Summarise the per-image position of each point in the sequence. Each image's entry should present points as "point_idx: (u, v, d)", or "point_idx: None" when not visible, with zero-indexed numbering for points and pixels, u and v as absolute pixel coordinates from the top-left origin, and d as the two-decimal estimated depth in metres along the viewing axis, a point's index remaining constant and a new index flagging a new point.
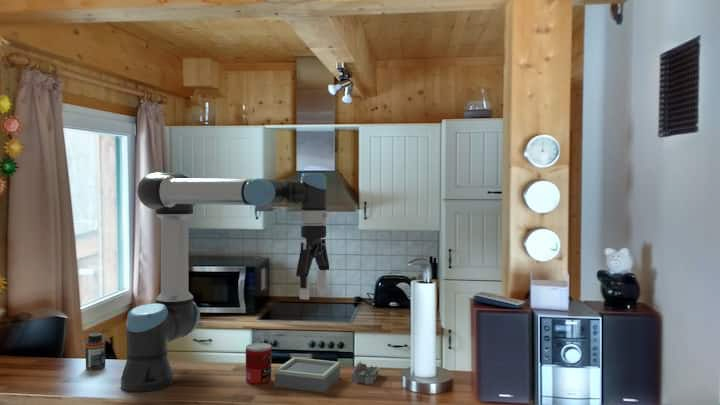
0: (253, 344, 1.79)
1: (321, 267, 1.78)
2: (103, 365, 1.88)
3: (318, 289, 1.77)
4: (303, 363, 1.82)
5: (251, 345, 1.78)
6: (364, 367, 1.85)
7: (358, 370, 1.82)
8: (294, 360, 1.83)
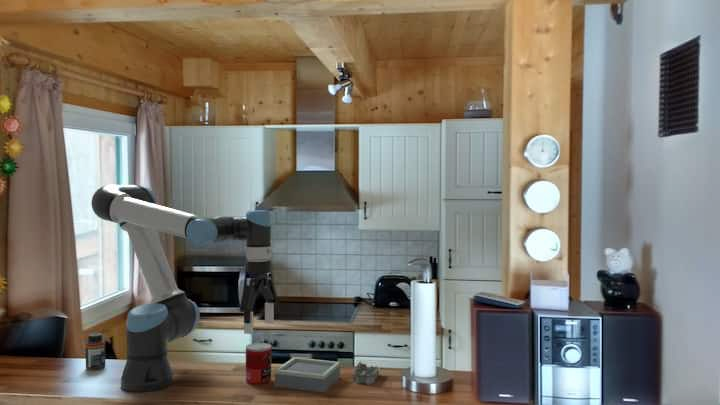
0: (253, 344, 1.79)
1: (269, 300, 1.83)
2: (103, 365, 1.88)
3: (266, 321, 1.83)
4: (303, 363, 1.82)
5: (251, 345, 1.78)
6: (364, 367, 1.85)
7: (358, 370, 1.82)
8: (294, 360, 1.83)
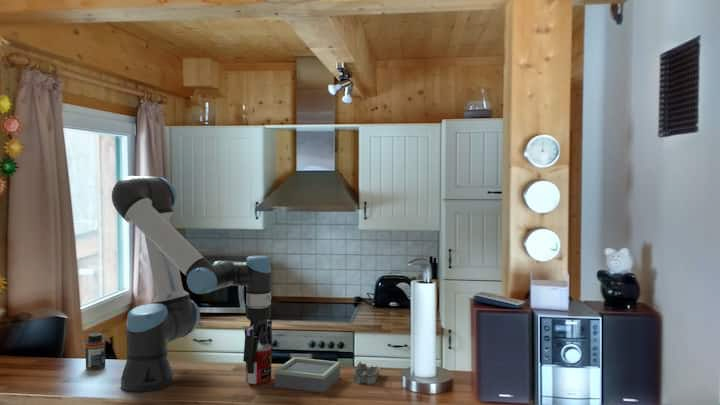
0: None
1: None
2: (103, 365, 1.88)
3: None
4: (303, 363, 1.82)
5: None
6: (364, 367, 1.85)
7: (359, 370, 1.81)
8: (294, 360, 1.83)
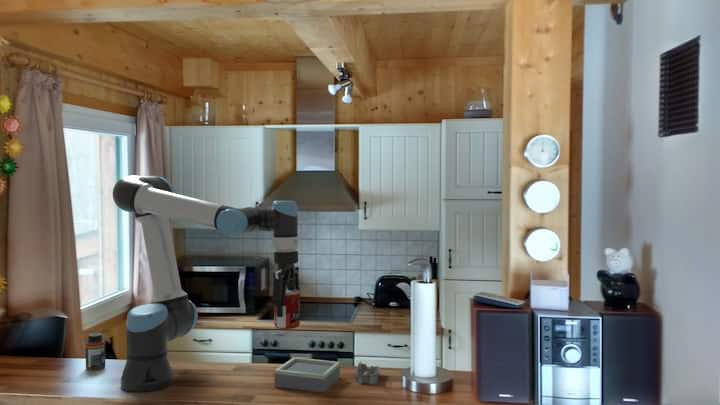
0: None
1: None
2: (103, 365, 1.88)
3: None
4: (303, 363, 1.82)
5: None
6: (364, 367, 1.85)
7: (360, 370, 1.81)
8: (294, 360, 1.83)
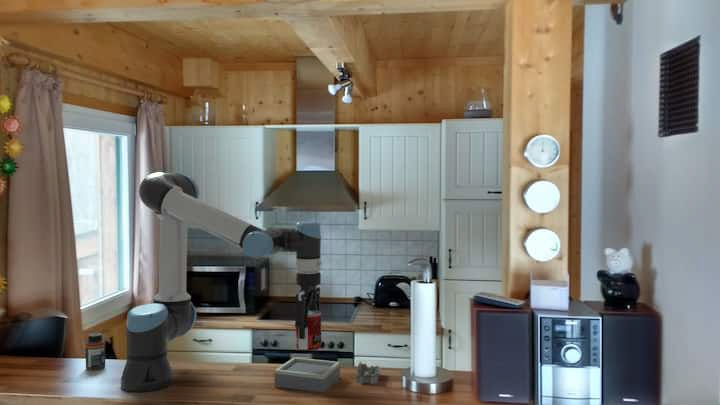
0: None
1: None
2: (103, 365, 1.88)
3: None
4: (303, 363, 1.82)
5: None
6: (364, 367, 1.85)
7: (360, 370, 1.81)
8: (294, 360, 1.83)
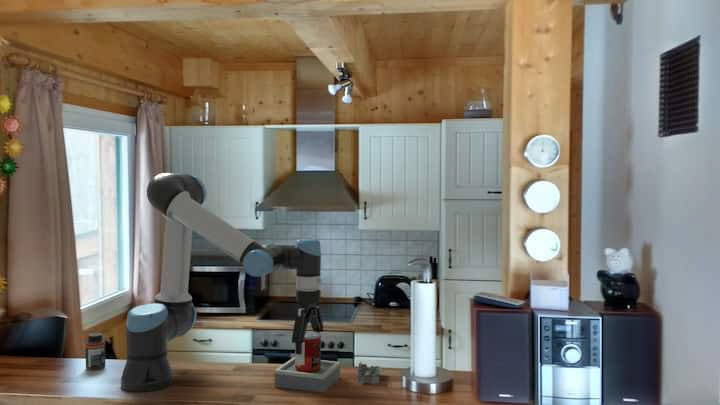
0: None
1: (315, 329, 1.83)
2: (103, 365, 1.88)
3: None
4: None
5: None
6: (364, 367, 1.85)
7: (361, 370, 1.81)
8: (294, 360, 1.83)
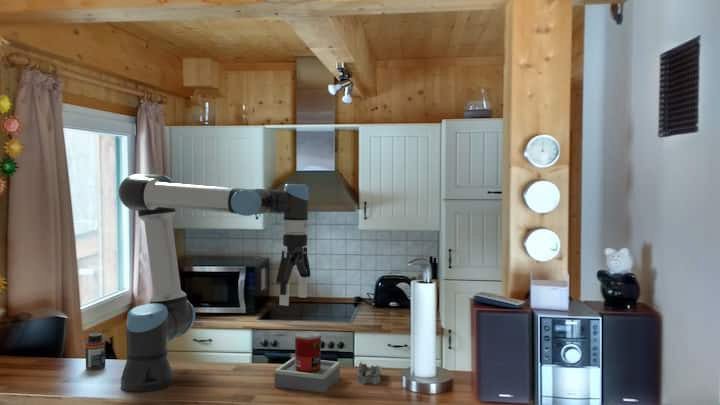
0: (302, 332, 1.78)
1: (302, 274, 1.84)
2: (103, 365, 1.88)
3: (299, 295, 1.84)
4: None
5: (300, 333, 1.77)
6: (364, 367, 1.85)
7: (361, 370, 1.81)
8: (294, 360, 1.83)
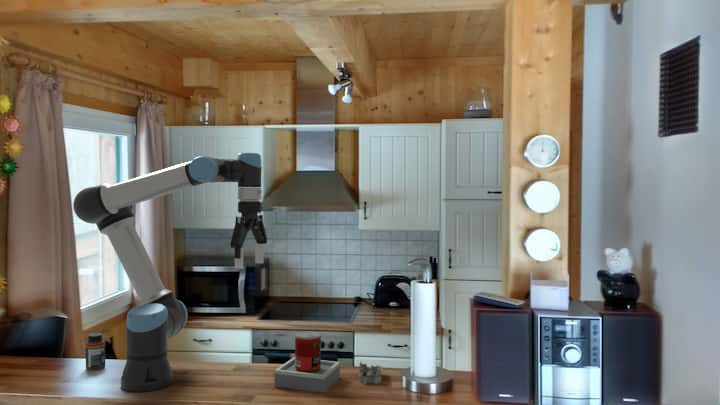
0: (302, 332, 1.78)
1: (259, 241, 1.92)
2: (103, 365, 1.88)
3: (256, 261, 1.91)
4: None
5: (300, 333, 1.77)
6: (364, 367, 1.85)
7: (362, 370, 1.81)
8: (294, 360, 1.83)
